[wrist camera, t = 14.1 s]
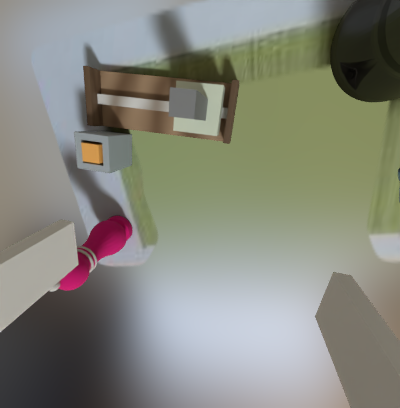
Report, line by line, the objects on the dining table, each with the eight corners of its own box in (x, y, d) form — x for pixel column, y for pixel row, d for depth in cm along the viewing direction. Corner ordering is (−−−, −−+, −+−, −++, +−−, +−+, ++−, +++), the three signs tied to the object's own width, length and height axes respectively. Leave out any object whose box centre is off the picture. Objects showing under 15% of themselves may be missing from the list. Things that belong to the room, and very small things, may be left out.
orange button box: (131, 134, 42) (108, 136, 34) (131, 165, 44) (109, 173, 36) (103, 130, 42) (74, 131, 35) (104, 160, 44) (77, 168, 37)
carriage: (225, 88, 33) (217, 70, 22) (218, 135, 36) (209, 139, 25) (181, 84, 34) (153, 64, 23) (178, 130, 37) (151, 132, 26)
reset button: (117, 142, 40) (98, 145, 34) (118, 158, 41) (99, 163, 35) (103, 140, 40) (81, 142, 35) (103, 156, 41) (82, 161, 36)
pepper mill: (104, 211, 49) (21, 263, 30) (134, 215, 48) (67, 273, 29) (106, 238, 51) (31, 303, 33) (135, 243, 50) (74, 312, 32)
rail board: (239, 85, 36) (239, 80, 31) (230, 141, 39) (229, 143, 35) (100, 72, 39) (83, 65, 34) (102, 125, 42) (87, 125, 38)
